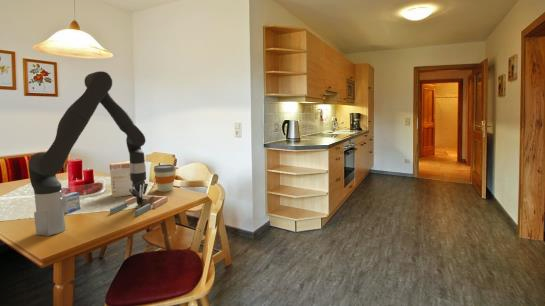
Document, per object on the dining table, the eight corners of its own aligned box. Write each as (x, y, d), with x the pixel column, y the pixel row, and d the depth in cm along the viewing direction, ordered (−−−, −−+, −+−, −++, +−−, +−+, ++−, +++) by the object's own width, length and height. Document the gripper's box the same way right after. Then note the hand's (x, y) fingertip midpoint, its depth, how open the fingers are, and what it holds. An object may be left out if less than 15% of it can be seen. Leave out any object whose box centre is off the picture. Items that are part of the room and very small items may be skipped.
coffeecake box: (139, 191, 193) (137, 160, 190) (140, 194, 186) (138, 162, 183) (112, 194, 187) (110, 162, 184) (111, 197, 180) (109, 164, 177)
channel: (137, 215, 150) (137, 210, 149) (110, 213, 152) (109, 208, 152) (150, 208, 160) (150, 203, 160) (124, 206, 163) (124, 202, 163)
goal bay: (155, 207, 161) (155, 203, 161) (124, 205, 165) (123, 201, 165) (167, 200, 174) (167, 196, 173) (138, 199, 177) (138, 194, 177)
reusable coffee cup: (151, 189, 197) (149, 166, 195) (168, 186, 206) (167, 163, 204) (161, 193, 189) (160, 169, 187) (179, 189, 198) (178, 166, 196)
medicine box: (68, 213, 152) (66, 196, 151) (60, 213, 153) (58, 196, 152) (80, 208, 160) (79, 192, 159) (73, 208, 161) (71, 191, 160)
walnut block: (147, 206, 165) (147, 199, 164) (137, 205, 166) (137, 198, 165) (154, 203, 170) (153, 195, 170) (144, 202, 172) (143, 195, 171)
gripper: (136, 174, 153) (138, 208, 156) (151, 169, 166) (153, 200, 169) (122, 173, 155) (125, 207, 157) (139, 168, 168) (141, 199, 170)
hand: (139, 203), depth 163 cm, fingers closed
